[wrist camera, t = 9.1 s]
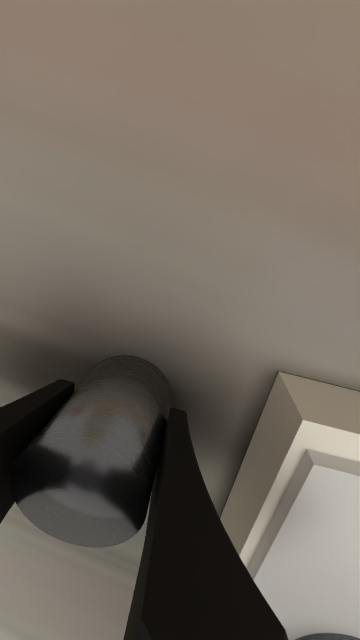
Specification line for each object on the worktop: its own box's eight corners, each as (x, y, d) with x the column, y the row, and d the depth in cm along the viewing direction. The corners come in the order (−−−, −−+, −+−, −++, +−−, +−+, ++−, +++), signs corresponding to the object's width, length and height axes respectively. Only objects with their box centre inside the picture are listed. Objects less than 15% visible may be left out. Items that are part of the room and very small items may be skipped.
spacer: (162, 439, 13) (134, 561, 8) (83, 418, 13) (9, 526, 8) (180, 368, 11) (159, 464, 7) (92, 345, 11) (9, 424, 7)
